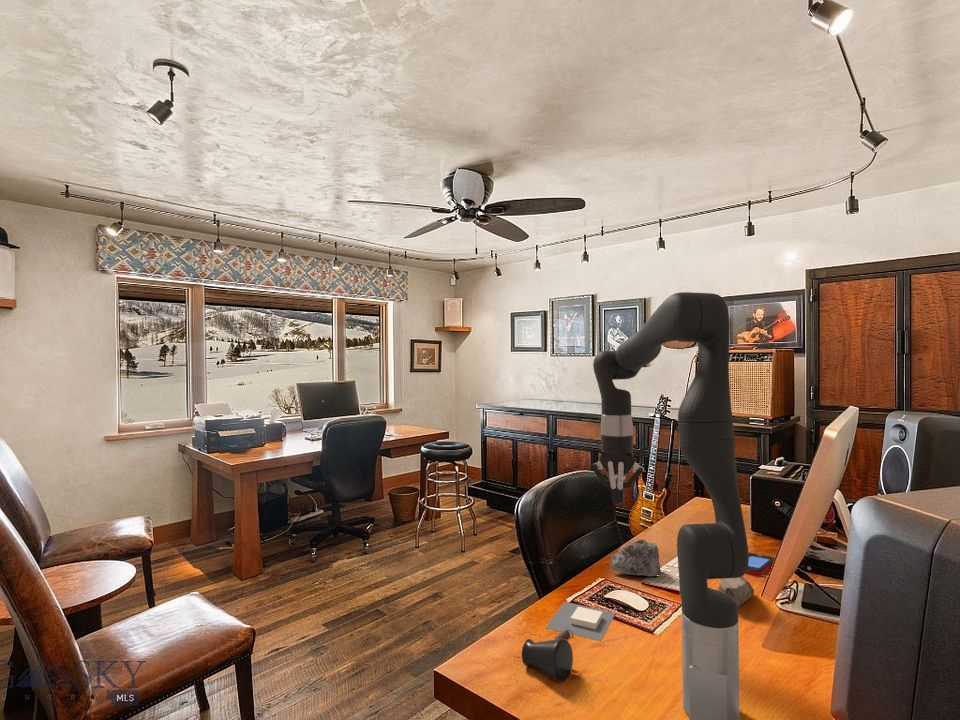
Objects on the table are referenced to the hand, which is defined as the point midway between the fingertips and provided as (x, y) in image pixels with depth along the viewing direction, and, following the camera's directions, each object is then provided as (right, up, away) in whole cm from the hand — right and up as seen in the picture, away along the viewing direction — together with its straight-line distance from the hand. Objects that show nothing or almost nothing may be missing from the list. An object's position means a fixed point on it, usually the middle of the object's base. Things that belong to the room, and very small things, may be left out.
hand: (618, 503), depth 127 cm
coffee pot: (-17, -28, -17) cm, 37 cm away
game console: (+46, -27, +29) cm, 61 cm away
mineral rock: (+12, -27, +24) cm, 38 cm away
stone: (+31, -27, +6) cm, 42 cm away
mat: (-9, -27, -3) cm, 29 cm away
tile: (-11, -26, -2) cm, 28 cm away
